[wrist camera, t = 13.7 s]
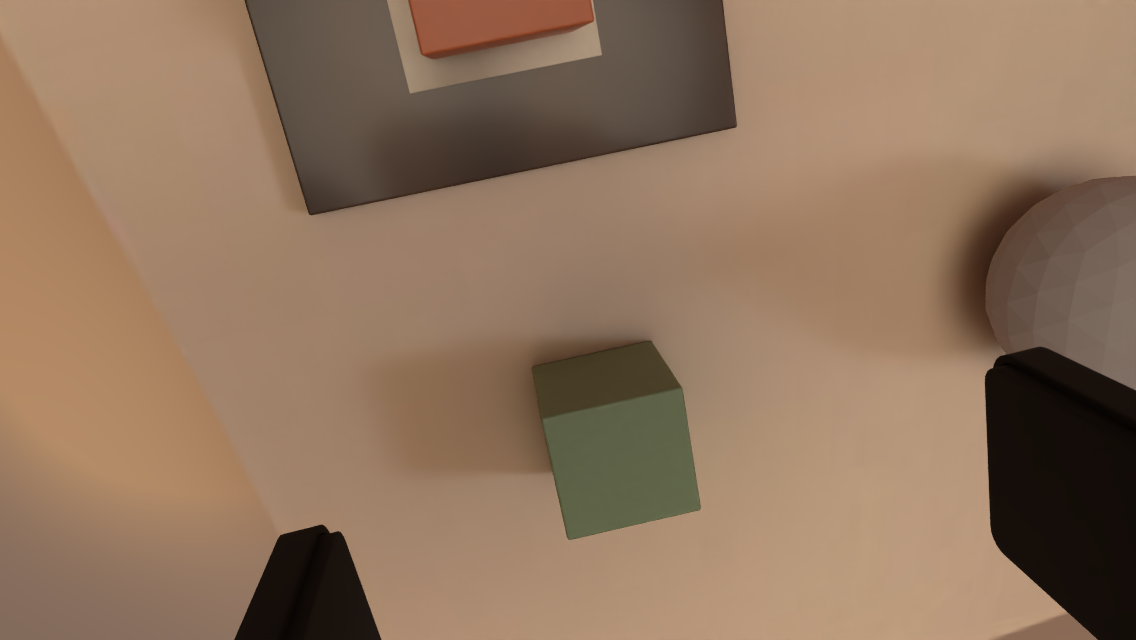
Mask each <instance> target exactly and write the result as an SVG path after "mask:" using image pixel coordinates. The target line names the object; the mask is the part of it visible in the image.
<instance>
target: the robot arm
mask: <svg viewBox="0 0 1136 640" xmlns="http://www.w3.org/2000/svg"><path fill="white" fill-rule="evenodd" d="M985 397H986V422H987V448H988V474H989V499H990V525H991V532H992V535H993V538H994V540H995V543H996V545H997V546H998V548H999V549H1000V551H1001V552H1002V553H1003V554H1004V555H1005V556H1006V557H1007V558H1008V559H1010V560H1011V561H1012V562H1013V563H1014V564H1015V565H1016V566H1017V567H1018V568H1019V569H1021V570H1022V571H1023V572H1024V573H1025V574H1026V575H1027V576H1028V577H1029V578H1030V579H1032V580H1033V581H1034V582H1035V583H1036V584H1037V585H1038V586H1039V587H1040V588H1042V589H1043V590H1044V591H1045V592H1046V593H1047V594H1048V595H1049V596H1050V597H1051V598H1053V599H1054V600H1055V601H1056V602H1057V603H1058V604H1059V605H1060V606H1061V607H1062V608H1064V609H1065V610H1066V611H1067V612H1068V613H1069V614H1070V615H1071V616H1072V617H1074V618H1075V619H1076V620H1077V621H1078V622H1079V623H1080V624H1081V625H1082V626H1083V627H1085V628H1086V629H1087V630H1088V631H1089V632H1090V633H1091V634H1092V635H1093V636H1095V637H1096V638H1097V639H1098V640H1136V390H1134V389H1132V388H1130V387H1128V386H1126V385H1124V384H1122V383H1119V382H1117V381H1115V380H1113V379H1111V378H1109V377H1107V376H1105V375H1103V374H1101V373H1098V372H1096V371H1094V370H1092V369H1090V368H1088V367H1086V366H1084V365H1082V364H1079V363H1077V362H1075V361H1073V360H1071V359H1069V358H1067V357H1065V356H1063V355H1061V354H1058V353H1056V352H1054V351H1052V350H1050V349H1048V348H1045V347H1041V346H1040V347H1035V348H1031V349H1027V350H1023V351H1019V352H1015V353H1011V354H1007V355H1003V356H1000V357H998V358H997V359H996V361H995V363H994V366H993V368H992V369H990V370H988V371H987V373H986V376H985ZM234 640H381V637H380V635H379V632H378V629H377V626H376V624H375V621H374V618H373V615H372V613H371V610H370V607H369V604H368V601H367V599H366V596H365V593H364V590H363V588H362V585H361V582H360V579H359V577H358V574H357V571H356V568H355V566H354V563H353V560H352V557H351V555H350V552H349V549H348V546H347V543H346V541H345V539H344V536H343V535H342V533H341V532H339V531H337V532H333V533H329V531H328V529H327V528H326V527H325V526H324V525H318V526H314V527H310V528H306V529H302V530H298V531H294V532H290V533H286V534H283V535H280V537H279V538H278V540H277V542H276V545H275V547H274V549H273V552H272V554H271V556H270V558H269V561H268V563H267V565H266V568H265V570H264V572H263V575H262V577H261V579H260V582H259V584H258V586H257V588H256V591H255V593H254V595H253V598H252V600H251V602H250V605H249V607H248V609H247V612H246V614H245V616H244V619H243V621H242V623H241V626H240V628H239V630H238V632H237V635H236V637H235V639H234Z"/></svg>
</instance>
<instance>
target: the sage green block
mask: <svg viewBox="0 0 1136 640" xmlns="http://www.w3.org/2000/svg"><path fill="white" fill-rule="evenodd" d="M532 373H533V379H534V384H535V390H536V395H537V401H538V406H539V412H540V417H541V422H542V427H543V431H544V436H545V440H546V445H547V449H548V454H549V458H550V463H551V467H552V472H553V476H554V481H555V485H556V490H557V494H558V499H559V503H560V508H561V512H562V517H563V521H564V526H565V530H566V535H567V538H568V539H569V540H572V539H576V538H580V537H585V536H589V535H594V534H598V533H602V532H607V531H611V530H615V529H620V528H624V527H628V526H633V525H637V524H641V523H646V522H650V521H654V520H659V519H663V518H667V517H672V516H676V515H680V514H685V513H689V512H693V511H698V510H700V508H701V506H700V499H699V493H698V486H697V480H696V473H695V467H694V460H693V454H692V447H691V441H690V434H689V428H688V421H687V415H686V408H685V402H684V395H683V389H682V387H681V386H680V384H679V383H678V381H677V379H676V378H675V376H674V375H673V373H672V372H671V370H670V369H669V367H668V366H667V364H666V363H665V361H664V360H663V358H662V357H661V355H660V353H659V352H658V350H657V349H656V347H655V346H654V344H653V343H652V341H648V342H643V343H639V344H634V345H630V346H625V347H621V348H616V349H611V350H607V351H602V352H598V353H593V354H589V355H584V356H579V357H575V358H570V359H566V360H561V361H557V362H552V363H548V364H543V365H538V366H534V367H532Z"/></svg>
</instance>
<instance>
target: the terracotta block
mask: <svg viewBox="0 0 1136 640" xmlns="http://www.w3.org/2000/svg"><path fill="white" fill-rule="evenodd" d="M408 2H409V6H410V10H411V15H412V19H413V23H414V27H415V31H416V36H417V40H418V44H419V48H420V52H421V54H422V55H423V56H426V57H428V58H431V59H438V58H443V57H448V56H453V55H458V54H463V53H468V52H473V51H478V50H483V49H488V48H493V47H498V46H503V45H508V44H513V43H518V42H523V41H529V40H534V39H539V38H544V37H549V36H554V35H559V34H564V33H569V32H573V31H575V30H577V29H579V28H581V27H583V26H585V25H587V24H589V23H592V22H593V21H594V15H593V9H592V3H591V0H408Z"/></svg>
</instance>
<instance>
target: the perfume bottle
mask: <svg viewBox="0 0 1136 640" xmlns="http://www.w3.org/2000/svg"><path fill="white" fill-rule="evenodd" d="M986 313H987V315H988V318H989V321H990V323H991V326H992V329H993V331H994V334H995V336H996V339H997V340H998V342H999V343H1000V345H1001V346H1002V348H1003V349H1004V351H1005V352H1006V354H1011V353H1015V352H1019V351H1023V350H1027V349H1031V348H1035V347H1040V346H1041V347H1045V348H1048V349H1050V350H1052V351H1054V352H1056V353H1058V354H1061V355H1063V356H1065V357H1067V358H1069V359H1071V360H1073V361H1075V362H1077V363H1079V364H1082V365H1084V366H1086V367H1088V368H1090V369H1092V370H1094V371H1096V372H1098V373H1101V374H1103V375H1105V376H1107V377H1109V378H1111V379H1113V380H1115V381H1117V382H1119V383H1122V384H1124V385H1126V386H1128V387H1130V388H1132V389H1134V390H1136V176H1123V177H1112V178H1100V179H1092V180H1089V181H1086V182H1083V183H1080V184H1077V185H1074V186H1070V187H1067V188H1064V189H1062V190H1060V191H1058V192H1056V193H1054V194H1053V195H1051V196H1049V197H1047V198H1046V199H1044V200H1042V201H1040V202H1039V203H1037V204H1035V205H1033V206H1032V207H1031V208H1030V209H1029V210H1028V211H1027V212H1026V213H1025V214H1024V215H1023V216H1022V217H1021V218H1020V219H1019V220H1018V221H1017V222H1016V223H1015V224H1014V225H1013V226H1012V227H1011V228H1010V229H1009V230H1008V231H1007V233H1006V234H1005V236H1004V238H1003V240H1002V241H1001V243H1000V245H999V247H998V248H997V250H996V252H995V254H994V256H993V258H992V260H991V264H990V267H989V271H988V275H987V279H986Z"/></svg>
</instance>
